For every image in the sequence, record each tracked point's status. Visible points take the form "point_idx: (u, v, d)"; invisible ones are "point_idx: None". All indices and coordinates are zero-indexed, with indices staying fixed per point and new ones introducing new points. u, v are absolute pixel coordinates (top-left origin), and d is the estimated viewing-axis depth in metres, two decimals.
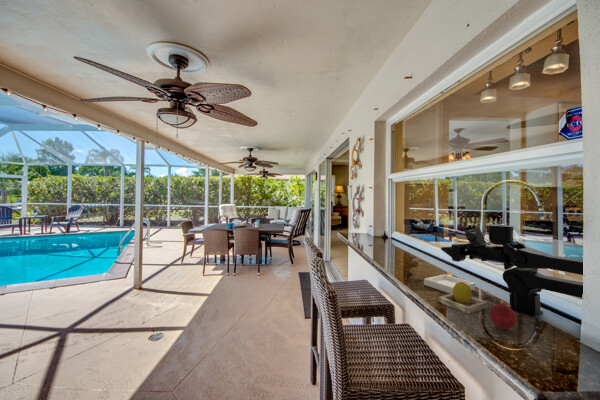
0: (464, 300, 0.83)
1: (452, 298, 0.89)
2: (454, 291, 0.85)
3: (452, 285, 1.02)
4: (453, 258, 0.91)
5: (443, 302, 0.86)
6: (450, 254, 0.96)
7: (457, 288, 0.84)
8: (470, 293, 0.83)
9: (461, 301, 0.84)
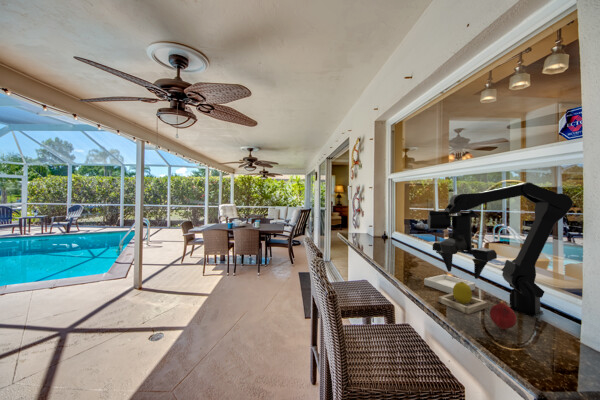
0: (464, 300, 0.83)
1: (452, 298, 0.89)
2: (454, 291, 0.85)
3: (452, 285, 1.02)
4: (495, 257, 0.77)
5: (443, 302, 0.86)
6: (483, 264, 0.80)
7: (457, 288, 0.84)
8: (470, 293, 0.83)
9: (461, 301, 0.84)
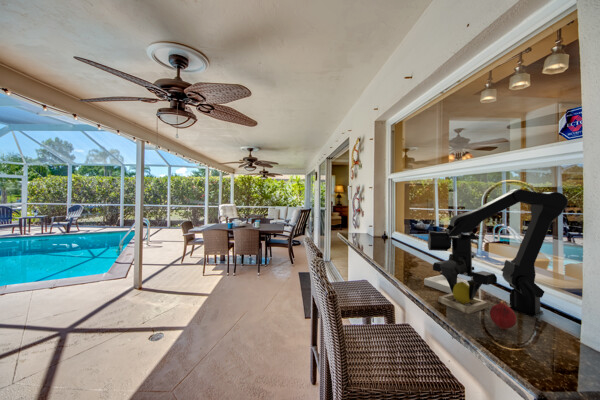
0: (464, 300, 0.83)
1: (452, 298, 0.89)
2: (454, 291, 0.85)
3: None
4: (495, 280, 0.78)
5: (443, 302, 0.86)
6: (478, 286, 0.82)
7: (457, 288, 0.84)
8: None
9: (461, 301, 0.84)
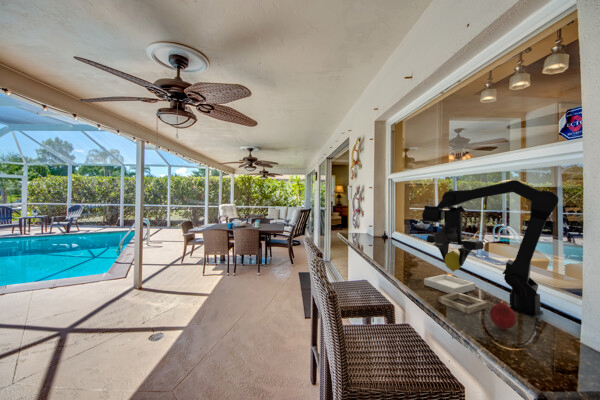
0: (455, 267, 0.92)
1: (452, 298, 0.89)
2: (446, 259, 0.94)
3: (452, 285, 1.02)
4: (482, 247, 0.87)
5: (443, 302, 0.86)
6: (467, 253, 0.91)
7: (448, 256, 0.94)
8: None
9: (452, 268, 0.93)
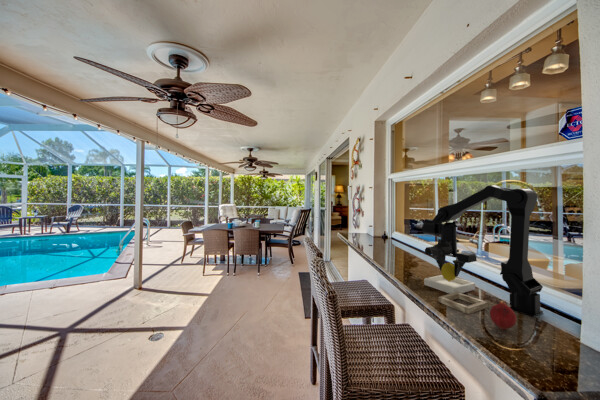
0: (450, 277, 0.99)
1: (452, 298, 0.89)
2: (442, 270, 1.02)
3: (452, 285, 1.02)
4: (475, 259, 0.94)
5: (443, 302, 0.86)
6: (462, 265, 0.98)
7: (444, 267, 1.01)
8: None
9: (448, 278, 1.00)
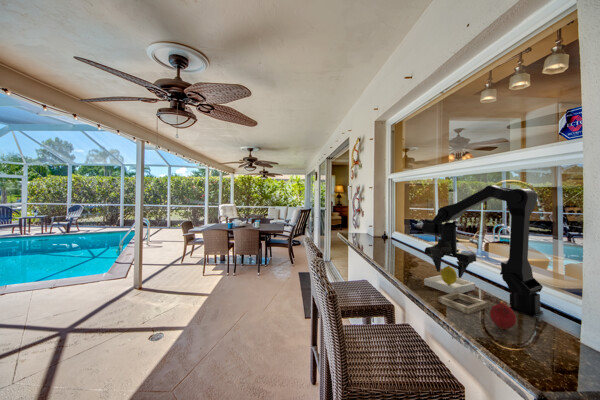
0: (450, 281, 0.99)
1: (452, 298, 0.89)
2: (442, 274, 1.02)
3: (452, 285, 1.02)
4: (475, 259, 0.94)
5: (443, 302, 0.86)
6: (466, 266, 0.97)
7: (444, 271, 1.01)
8: (455, 275, 0.99)
9: (448, 282, 1.00)
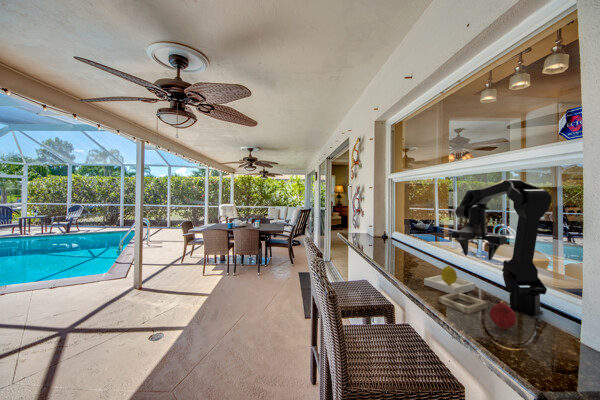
0: (450, 281, 1.00)
1: (452, 298, 0.89)
2: (442, 273, 1.02)
3: (452, 285, 1.02)
4: (506, 241, 0.94)
5: (443, 302, 0.86)
6: (496, 248, 0.97)
7: (444, 271, 1.01)
8: (455, 275, 1.00)
9: (447, 281, 1.00)
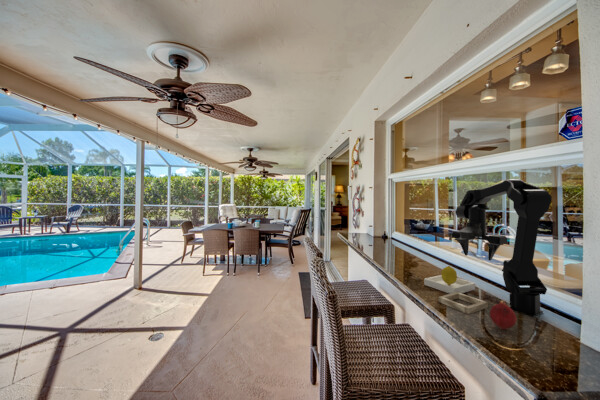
0: (450, 281, 0.99)
1: (452, 298, 0.89)
2: (442, 274, 1.02)
3: (452, 285, 1.02)
4: (506, 241, 0.94)
5: (443, 302, 0.86)
6: (496, 248, 0.97)
7: (444, 271, 1.01)
8: (455, 275, 0.99)
9: (448, 282, 1.00)
